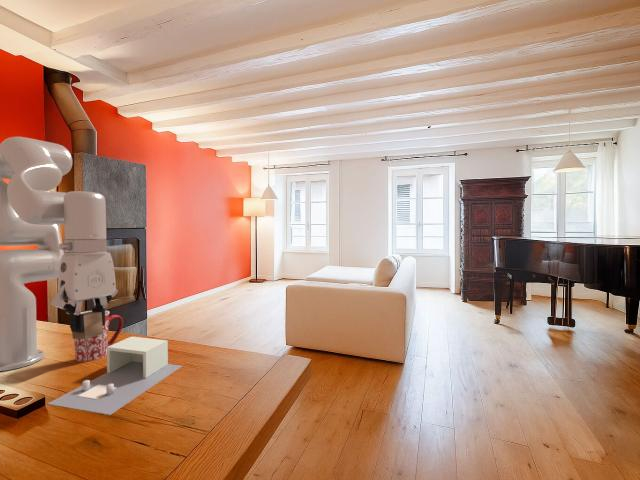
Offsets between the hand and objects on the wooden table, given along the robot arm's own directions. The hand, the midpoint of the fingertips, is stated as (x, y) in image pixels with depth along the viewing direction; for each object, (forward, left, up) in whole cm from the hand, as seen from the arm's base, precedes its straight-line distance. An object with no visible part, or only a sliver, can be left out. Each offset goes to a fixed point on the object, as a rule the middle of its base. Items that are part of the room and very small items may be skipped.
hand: (88, 327), depth 71 cm
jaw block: (0, 0, -2) cm, 2 cm away
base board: (+4, +6, -16) cm, 17 cm away
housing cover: (+2, +13, -15) cm, 20 cm away
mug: (-16, +18, -16) cm, 29 cm away
